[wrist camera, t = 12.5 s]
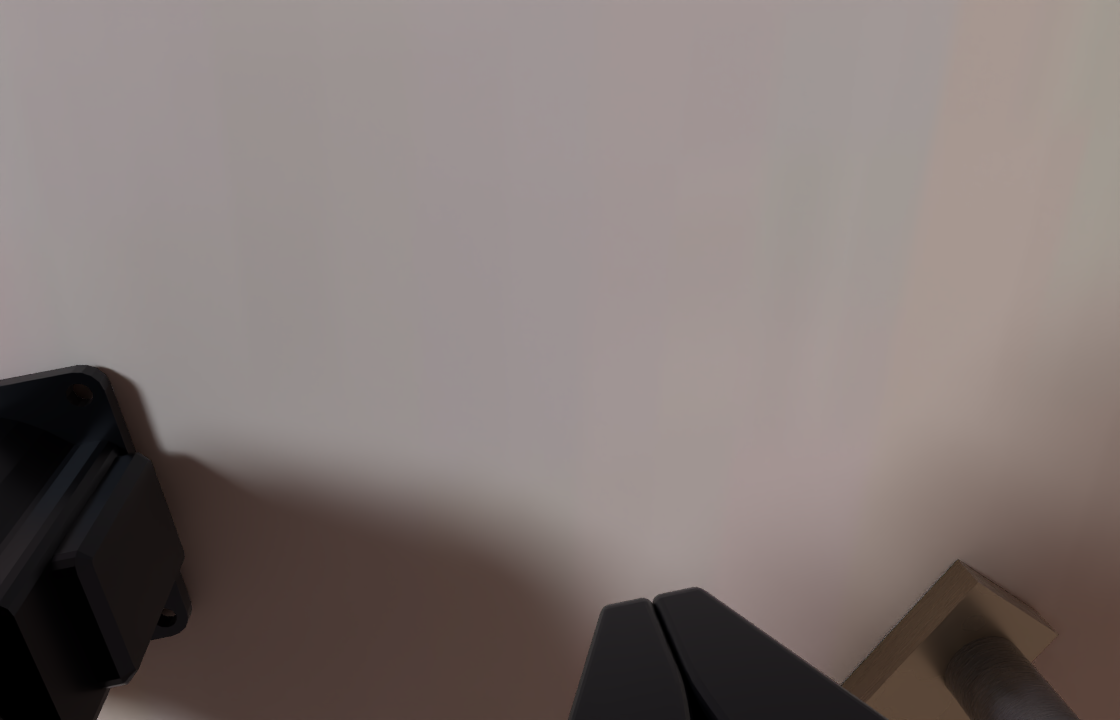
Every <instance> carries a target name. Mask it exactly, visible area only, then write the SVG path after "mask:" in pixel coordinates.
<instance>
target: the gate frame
mask: <svg viewBox="0 0 1120 720" xmlns="http://www.w3.org/2000/svg"><path fill="white" fill-rule="evenodd" d="M1057 636H1058V634H1057V633H1056V632H1055V631H1054V629H1053V628H1052V627H1051V626H1050V625H1049V624H1048V623H1047V622H1046V621H1045V620H1044V619H1043V618H1042V617H1041V616H1040V615H1039V614H1038V613H1037V612H1036V611H1035V610H1034V609H1032V608H1031V607H1029V606H1028V605H1026V604H1025V603H1023V602H1022V601H1020V600H1019V599H1017V598H1016V597H1014V596H1012V595H1011V594H1009V593H1008V592H1006V591H1005V590H1003V589H1002V588H1000V587H999V586H997V585H996V584H994V583H993V582H991V581H990V580H988V579H987V578H985V577H984V576H982V575H980V574H979V573H977V572H976V571H974V570H973V569H971V568H970V567H968V566H967V565H965V564H964V563H962V562H961V561H959V560H957V561H956V562H955V563H954V564H953V565H952V566H951V567H950V569H949V570H948V571H947V572H946V573H945V574H944V575H943V576H942V577H941V578H940V579H939V580H938V582H937V583H936V584H935V585H934V586H933V587H932V588H931V589H930V590H929V591H928V592H927V593H926V595H925V596H924V597H923V598H922V599H921V600H920V601H919V602H918V603H917V604H916V605H915V606H914V608H913V609H912V610H911V611H910V612H909V613H908V614H907V615H906V616H905V617H904V618H903V619H902V621H901V622H900V623H899V624H898V625H897V626H896V627H895V628H894V629H893V630H892V631H891V632H890V634H889V635H888V636H887V637H886V638H885V639H884V640H883V641H882V642H881V643H880V644H879V645H878V647H877V648H876V649H875V650H874V651H873V652H872V653H871V654H870V655H869V656H868V657H867V658H866V660H865V661H864V662H863V663H862V664H861V665H860V666H859V667H858V668H857V669H856V670H855V671H854V673H853V674H852V675H851V676H850V677H849V678H848V679H847V680H846V681H845V682H844V683H843V684H842V687H843V688H845V689H846V690H848V691H849V692H850V693H852V694H853V695H855V696H856V697H858V698H859V699H860V700H862V701H863V702H865V703H866V704H868V705H869V706H870V707H872V708H873V709H875V710H876V711H877V712H879V713H880V714H882V715H883V716H885V717H886V718H887V719H889V720H1080V719H1079V718H1078V717H1077V715H1076V714H1075V713H1074V712H1073V711H1072V710H1071V709H1070V707H1069V706H1068V705H1067V704H1066V703H1065V702H1064V701H1063V699H1062V698H1061V697H1060V696H1059V695H1058V694H1057V692H1056V691H1055V690H1054V689H1053V688H1052V687H1051V686H1050V684H1049V683H1048V682H1047V681H1046V680H1045V679H1044V678H1043V676H1042V675H1041V674H1040V673H1039V672H1038V671H1037V669H1036V668H1035V667H1034V666H1033V665H1032V664H1031V662H1032V661H1033V660H1034V659H1035V658H1036V657H1037V656H1038V655H1039V654H1040V653H1041V652H1042V651H1043V650H1044V649H1045V648H1046V647H1047V646H1048V645H1049V644H1050V643H1051V642H1052V641H1053V640H1054V639H1055V638H1056V637H1057Z"/></svg>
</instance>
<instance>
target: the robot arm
mask: <svg viewBox="0 0 1120 720" xmlns="http://www.w3.org/2000/svg"><path fill="white" fill-rule="evenodd" d="M73 384H83V385H85V386H87V387H89V389H90V390H91V391H92V393H93V398H91V399H83V398H81V397H79V396H77V395H76V393H75V392H74V391H73ZM184 557H185V554H184V550H183V548H182V545H181V542H180V539H179V537H178V534H177V531H176V528H175V526H174V523H173V520H172V517H171V515H170V512H169V509H168V506H167V503H166V501H165V498H164V495H163V492H162V490H161V487H160V484H159V481H158V479H157V476H156V473H155V470H154V468H153V465H152V462H151V460H149V459H148V458H147V457H145V456H144V455H142V454H141V453H139V452H136V451H135V448H134V445H133V443H132V440H131V437H130V434H129V432H128V429H127V426H126V424H125V421H124V418H123V415H122V413H121V410H120V407H119V405H118V402H117V399H116V396H115V394H114V391H113V388H112V386H111V383H110V381H109V380H108V378H107V376H106V375H105V374H104V373H103V372H101V371H100V370H99V369H97V368H95V367H92V366H89V365H76V366H71V367H66V368H60V369H55V370H50V371H45V372H39V373H34V374H29V375H24V376H18V377H13V378H8V379H3V380H0V720H97V718H98V716H99V713H100V711H101V709H102V707H103V704H104V702H105V700H106V697H107V695H108V693H109V691H110V688H112V687H116V686H121V685H126V684H128V683H129V682H130V681H131V679H132V678H133V676H134V675H135V673H136V672H137V670H138V669H139V666H140V664H141V662H142V659H143V657H144V654H145V652H146V649H147V647H148V645H149V642H150V640H154V639H159V638H164V637H169V636H173V635H175V634H178V633H180V632H181V631H182V630H183V629H184V628H185V627H186V625H187V622H188V619H189V617H190V614H191V611H192V605H191V600H190V598H189V595H188V592H187V589H186V587H185V584H184V581H183V579H182V576H181V573H180V567H181V565H182V562H183V560H184ZM163 608H168V609H170V610H172V611H174V613H175V614H176V615H174V616H165V615H163V614H161V613H162V611H163ZM568 720H889V719H887V718H886V717H885V716H883V715H882V714H880V713H879V712H877V711H876V710H875V709H873V708H872V707H870V706H869V705H868V704H866V703H865V702H863V701H862V700H860V699H859V698H858V697H856V696H855V695H853V694H852V693H850V692H849V691H848V690H846V689H845V688H843V687H842V686H840V685H839V684H838V683H836V682H835V681H833V680H832V679H830V678H829V677H828V676H826V675H825V674H823V673H822V672H821V671H819V670H818V669H816V668H815V667H813V666H812V665H811V664H809V663H808V662H806V661H805V660H803V659H802V658H801V657H799V656H798V655H796V654H795V653H793V652H792V651H791V650H789V649H788V648H786V647H785V646H784V645H782V644H781V643H779V642H778V641H776V640H775V639H774V638H772V637H771V636H769V635H768V634H766V633H765V632H764V631H762V630H761V629H759V628H758V627H756V626H755V625H754V624H752V623H751V622H749V621H748V620H746V619H745V618H744V617H742V616H741V615H739V614H738V613H737V612H735V611H734V610H732V609H731V608H729V607H728V606H727V605H725V604H724V603H722V602H721V601H719V600H718V599H717V598H715V597H714V596H712V595H711V594H709V593H708V592H707V591H705V590H704V589H701V588H698V587H691V588H687V589H682V590H677V591H672V592H667V593H663V594H659V595H657V596H656V597H655V598H654V600H653V603H652V602H651V601H650V600H648V599H646V598H639V599H634V600H629V601H624V602H619V603H614V604H609V605H607V606H605V607H604V608H603V609H602V611H601V613H600V615H599V619H598V622H597V625H596V629H595V632H594V635H593V639H592V642H591V645H590V648H589V652H588V655H587V658H586V662H585V665H584V668H583V672H582V675H581V678H580V682H579V685H578V688H577V691H576V695H575V698H574V701H573V705H572V708H571V711H570V715H569V718H568Z"/></svg>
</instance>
